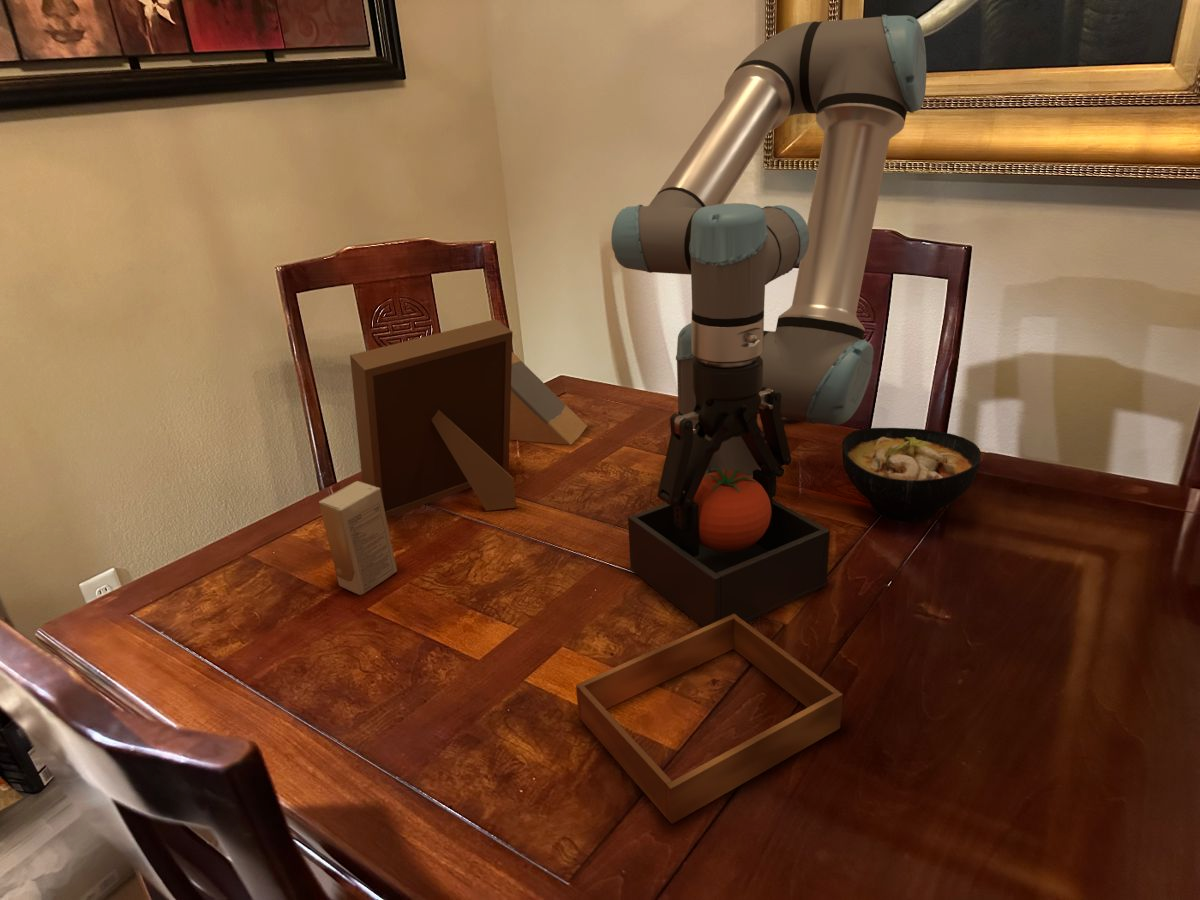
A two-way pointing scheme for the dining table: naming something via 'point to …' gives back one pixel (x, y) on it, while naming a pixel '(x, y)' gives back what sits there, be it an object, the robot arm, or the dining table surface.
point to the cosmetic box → (358, 537)
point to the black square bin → (730, 566)
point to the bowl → (909, 470)
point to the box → (740, 760)
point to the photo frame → (437, 417)
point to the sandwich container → (539, 410)
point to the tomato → (731, 511)
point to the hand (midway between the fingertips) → (726, 536)
